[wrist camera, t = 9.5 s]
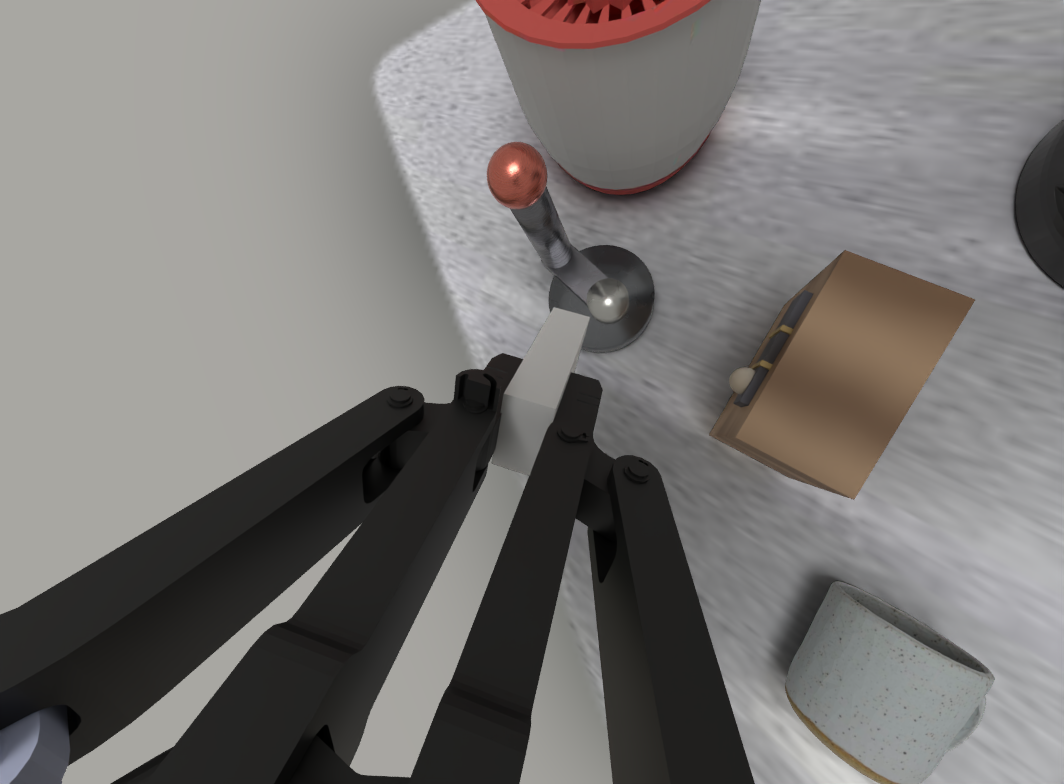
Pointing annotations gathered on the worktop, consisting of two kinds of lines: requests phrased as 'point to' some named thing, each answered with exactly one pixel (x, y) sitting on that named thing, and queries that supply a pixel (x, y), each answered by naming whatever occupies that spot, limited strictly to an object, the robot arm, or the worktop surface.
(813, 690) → the ceramic mug
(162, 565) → the robot arm
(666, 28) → the citrus juicer
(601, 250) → the lever with red knob
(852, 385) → the walnut stand
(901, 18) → the worktop surface
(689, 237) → the worktop surface
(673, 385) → the worktop surface
